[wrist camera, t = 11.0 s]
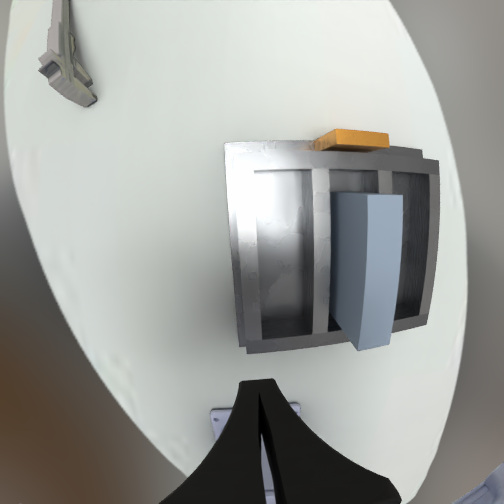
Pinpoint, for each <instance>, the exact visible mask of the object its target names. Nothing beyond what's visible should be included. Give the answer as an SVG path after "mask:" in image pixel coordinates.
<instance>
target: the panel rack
mask: <svg viewBox="0 0 504 504" xmlns="http://www.w3.org/2000/svg"><path fill="white" fill-rule="evenodd" d="M224 145H225V163H226V180H227V196H228V211H229V226H230V240H231V254H232V267H233V279H234V291H235V303H236V315H237V326H238V337H239V347H245V346H246V349H247V354H255V353H266V352H277V351H286V350H295V349H303V348H310V347H318V346H324V345H331V344H337V343H343V342H349V341H350V340H349V338H348V337H347V336H346V334H345V333H344V331H343V330H342V329H341V327H340V326H339V325H338V323H337V322H336V320H335V319H334V318H333V316H332V315H331V314H330V312H329V295H330V260H331V219H330V192H369V193H382V194H395V195H403V227H402V248H401V262H400V274H399V283H398V292H397V300H396V307H395V314H394V320H393V326H392V332H391V333H394V332H399V331H403V330H407V329H411V328H415V327H419V326H423V325H426V324H427V319H428V314H429V309H430V304H431V298H432V292H433V285H434V278H435V270H436V262H437V251H438V239H439V220H440V176H439V161H438V160H432V159H424V158H423V154H422V150H420V149H413V148H406V147H397V146H389V136H388V134H387V133H378V132H369V131H358V130H345V129H334V130H333V131H331V132H329V133H327V134H325V135H324V136H322V137H320V138H318V139H317V140H315V141H253V142H234V143H224Z"/></svg>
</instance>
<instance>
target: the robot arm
mask: <svg viewBox="0 0 504 504" xmlns="http://www.w3.org/2000/svg"><path fill="white" fill-rule="evenodd" d="M300 409H301V408H300V405H299V404H289V403H288V402H287V400H286V399H285V397H284V396H283V394H282V393H281V391H280V389H279V387H278V385H277V383H276V381H275V380H274V379H273V378H271V379H260V380H248V381H241V382H240V383H239V389H238V393H237V397H236V400H235V403H234V406H233V409H229V410H212V411H211V412H210V418H211V422H212V426H213V430H214V434H215V438H216V443H215V444H214V446H213V447H212V449H211V450H210V452H209V453H208V455H207V456H206V457H205V459H204V460H203V461H202V463H201V464H200V465H199V466H198V467H197V469H196V470H195V471H194V472H193V473H192V474H191V475H190V476H189V477H188V478H187V479H186V480H185V481H184V482H183V483H182V484H181V485H180V486H179V487H178V488H177V489H176V490H175V491H173V493H171V494H170V495H168V496H167V497H166V498H165V499H164V500H162V501H161V502H160V503H159V504H400V503H401V501H402V500H401V497H400V495H399V493H398V491H397V489H396V488H395V487H394V485H393V484H392V483H391V481H390V480H389V479H388V478H386V477H383V476H381V475H378V474H376V473H374V472H372V471H370V470H367V469H365V468H363V467H362V466H360V465H358V464H356V463H354V462H352V461H351V460H349V459H348V458H346V457H345V456H343V455H342V454H340V453H339V452H337V451H336V450H334V449H333V448H332V447H330V446H329V445H328V444H327V443H325V442H324V441H323V440H322V439H321V438H319V437H318V436H317V435H316V434H315V433H314V432H313V431H312V430H311V429H310V428H309V427H308V426H307V425H306V424H305V423H304V422H303V421H302V419H301V418H300ZM295 411H296V412H295ZM451 504H504V462H503V463H502V464H500V465H499V466H498V467H497V468H496V469H495V470H494V471H493V472H491V473H490V475H489V476H488V477H487V478H486V479H485V481H483V482H482V483H481V484H479V485H478V486H477V487H475V488H474V489H472V490H471V491H470V492H468V493H467V494H465V495H464V496H462V497H461V498H459V499H458V500H456V501H454V502H453V503H451Z"/></svg>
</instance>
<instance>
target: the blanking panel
mask: <svg viewBox="0 0 504 504" xmlns="http://www.w3.org/2000/svg"><path fill="white" fill-rule="evenodd" d="M330 219H331V260H330V295H329V312H330V314H331V315H332V316H333V318H334V319H335V320H336V322H337V323H338V325H339V326H340V327H341V329H342V330H343V331H344V333H345V334H346V336H347V337H348V338H349V340H350V341H351V343H352V344H353V345H354V347H355V348H356V350H357V351H361V350H366V349H371V348H375V347H380V346H384V345H389V343H390V337H391V332H392V326H393V320H394V314H395V307H396V300H397V292H398V283H399V274H400V262H401V248H402V227H403V195H395V194H382V193H369V192H330Z"/></svg>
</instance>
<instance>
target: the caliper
mask: <svg viewBox="0 0 504 504" xmlns="http://www.w3.org/2000/svg"><path fill="white" fill-rule="evenodd" d="M74 41H75V38H74V36H73V35H72V34H71V33H70V27H69V0H53V6H52V19H51V27H50V28H49V29H48V39H47V52H46V53H44V54H43V55H42V56H41V57H40V58H38V59H39V61H40V62H41V64H42V65H43V66H42V67H41V68H40V69H39V70H38V71H39V72H41V73H42V74H43V75H44V76H46V77H47V78H48V82H49V85H50V86H51V87H53V88H54V89H55V90H56V91H58V92H59V93H60V94H61V95H63V96H64V97H65V98H67V99H69V100H71V101H73V102H75V103H77V104H79V105H81V106H83V107H87V106H88V105H90V104H91V103H92V102H94V101H95V100H96V99H97V96H96V95H94V94H93V93H92V92H91V91H90V90H89V89H88V87H89V86H91V85H92V84H93V83H92V80H91V78H90V77H89V76H88V74H87V73H86V72H85V71H84V69H83V68H82V67H81V66H80V64H79V63H78V62H77V61H76V59H75V58H74V52H75V44H74Z"/></svg>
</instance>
